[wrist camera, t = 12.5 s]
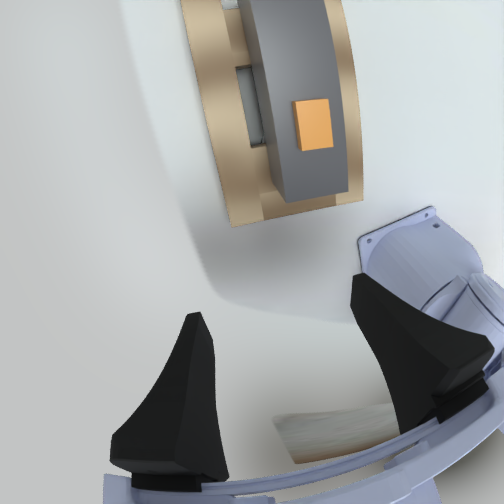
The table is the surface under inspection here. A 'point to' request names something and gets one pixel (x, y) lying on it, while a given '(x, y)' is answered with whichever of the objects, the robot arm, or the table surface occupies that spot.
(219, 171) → the keyhole board
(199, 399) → the robot arm
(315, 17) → the grey block
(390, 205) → the table surface
